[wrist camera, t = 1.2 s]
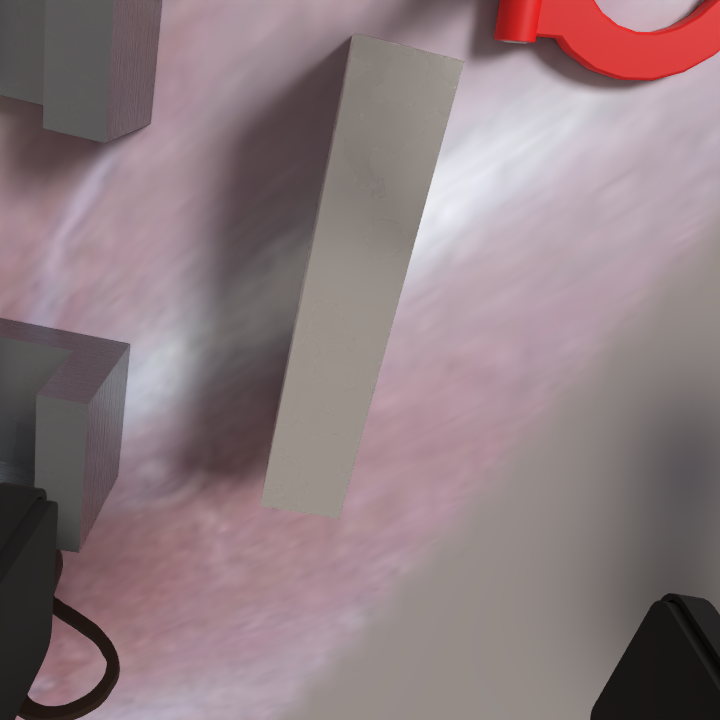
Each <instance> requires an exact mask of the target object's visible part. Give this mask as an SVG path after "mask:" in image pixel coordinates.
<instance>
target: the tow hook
mask: <svg viewBox="0 0 720 720" xmlns="http://www.w3.org/2000/svg"><path fill="white" fill-rule="evenodd" d="M536 37H547V38H554V39H555V40H556V42H557V43H558V45H559V46H560V47H561V49H562V50H563V51H564V52H565V53H566V54H568V55H569V56H570V57H572V58H573V59H574V60H576V61H577V62H578V63H579V64H581V65H582V66H583V67H585V68H586V69H588V70H591V71H594V72H597V73H600V74H602V75H605V76H608V77H611V78H614V79H621V80H656V79H659V78H663V77H667V76H671V75H675V74H678V73H682V72H685V71H686V70H688V69H690V68H692V67H694V66H696V65H697V64H699V63H701V62H703V61H705V60H706V59H708V58H710V57H712V56H714V55H715V54H716V53H717V52H718V51H720V0H705V1H704V2H703V3H702V4H701V5H700V6H699V7H698V8H697V9H696V10H694V11H693V12H692V13H691V14H690V15H689V16H688V17H686V18H684V19H682V20H680V21H679V22H677V23H675V24H673V25H672V26H670V27H667V28H664V29H660V30H656V31H652V32H635V31H633V30H630V29H627V28H624V27H622V26H619V25H617V24H616V23H615V22H613V21H612V20H611V19H610V18H608V17H607V16H606V15H605V14H604V13H602V11H601V10H600V8H599V7H598V5H597V4H596V2H595V1H594V0H500V2H499V9H498V15H497V22H496V29H495V36H494V39H496V40H499V41H501V42H508V43H521V44H527V43H533V42H535V41H536Z"/></svg>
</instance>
